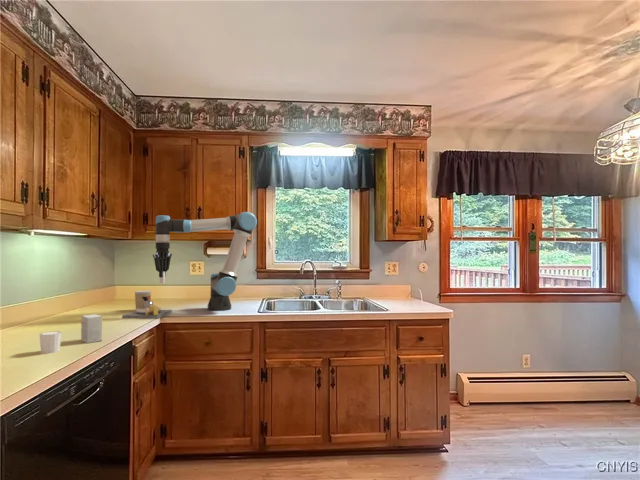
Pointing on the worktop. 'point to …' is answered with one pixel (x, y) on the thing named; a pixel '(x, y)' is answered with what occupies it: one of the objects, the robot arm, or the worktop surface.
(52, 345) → the shot glass
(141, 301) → the coffee cup
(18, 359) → the worktop surface
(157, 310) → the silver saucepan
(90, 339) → the small box
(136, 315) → the base plate
